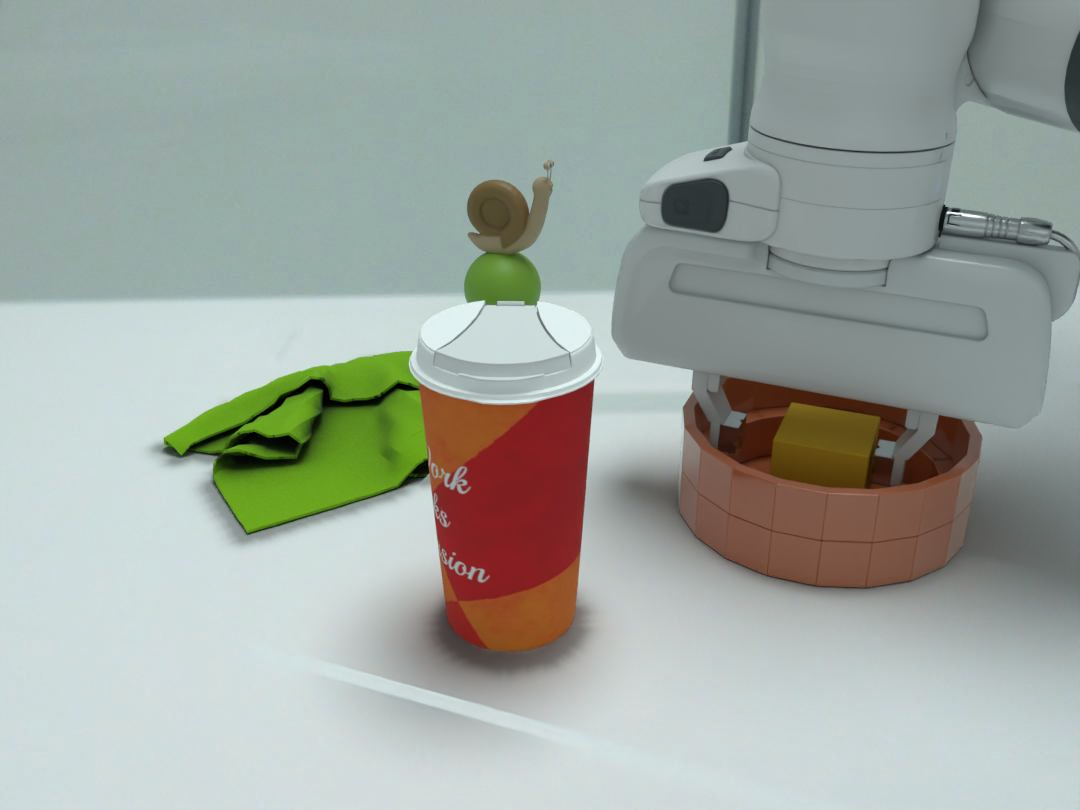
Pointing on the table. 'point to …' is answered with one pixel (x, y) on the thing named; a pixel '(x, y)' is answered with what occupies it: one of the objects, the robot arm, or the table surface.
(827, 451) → the toy block
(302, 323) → the table surface
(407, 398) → the cloth
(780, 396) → the bowl
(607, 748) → the table surface
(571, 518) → the paper cup
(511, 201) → the snail figurine
